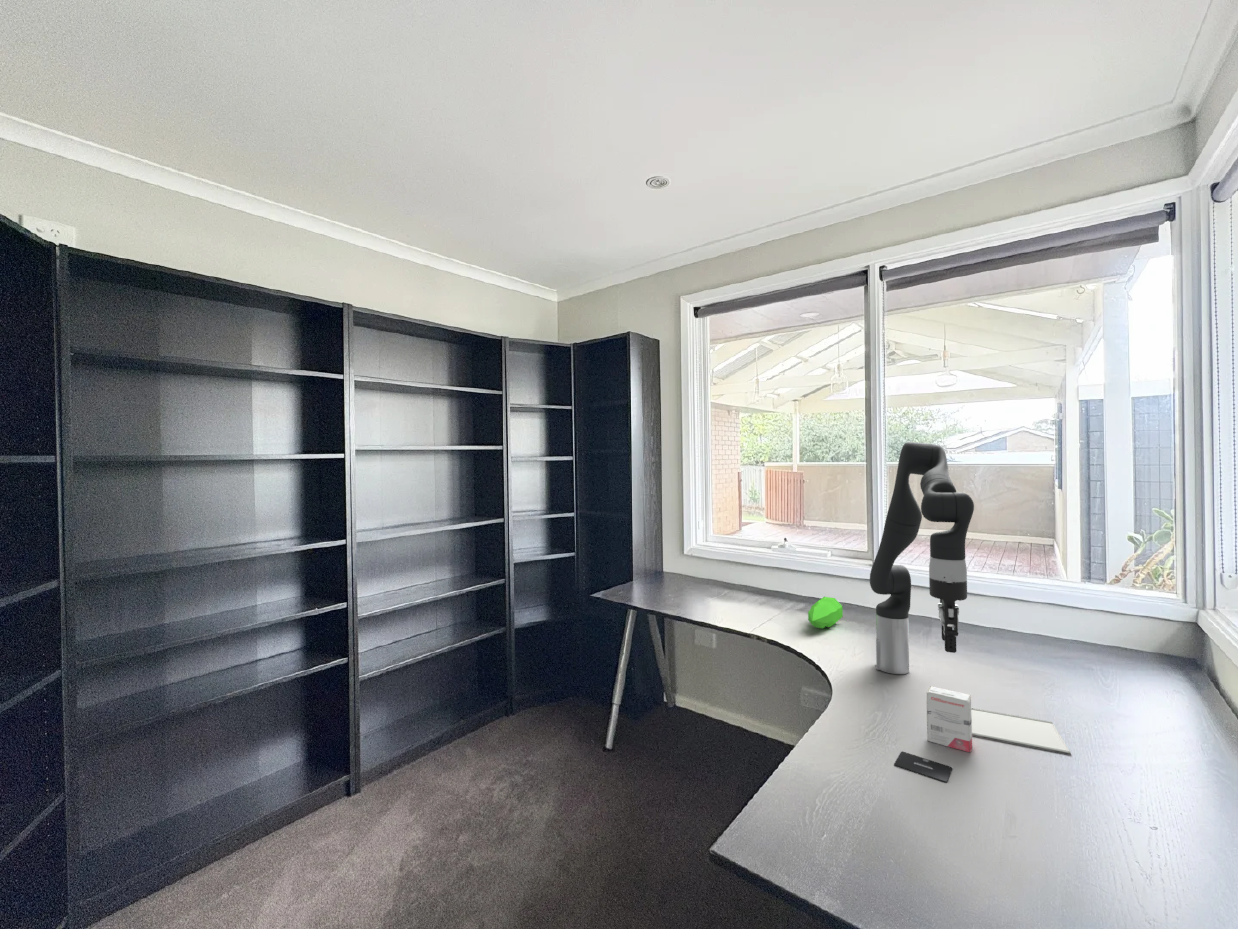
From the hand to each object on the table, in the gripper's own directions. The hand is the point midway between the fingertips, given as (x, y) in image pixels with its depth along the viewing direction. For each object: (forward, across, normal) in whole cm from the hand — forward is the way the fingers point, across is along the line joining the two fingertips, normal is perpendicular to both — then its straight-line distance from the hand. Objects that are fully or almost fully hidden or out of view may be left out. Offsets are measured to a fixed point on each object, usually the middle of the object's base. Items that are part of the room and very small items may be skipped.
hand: (948, 646), depth 123 cm
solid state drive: (+23, +14, -6) cm, 28 cm away
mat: (+23, -14, +11) cm, 29 cm away
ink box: (+23, 0, 0) cm, 23 cm away
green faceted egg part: (+23, -81, -37) cm, 92 cm away
